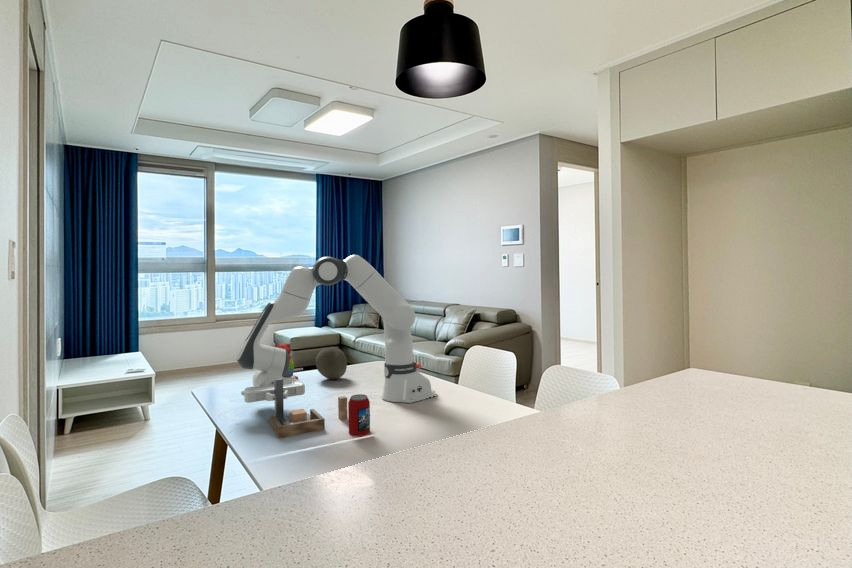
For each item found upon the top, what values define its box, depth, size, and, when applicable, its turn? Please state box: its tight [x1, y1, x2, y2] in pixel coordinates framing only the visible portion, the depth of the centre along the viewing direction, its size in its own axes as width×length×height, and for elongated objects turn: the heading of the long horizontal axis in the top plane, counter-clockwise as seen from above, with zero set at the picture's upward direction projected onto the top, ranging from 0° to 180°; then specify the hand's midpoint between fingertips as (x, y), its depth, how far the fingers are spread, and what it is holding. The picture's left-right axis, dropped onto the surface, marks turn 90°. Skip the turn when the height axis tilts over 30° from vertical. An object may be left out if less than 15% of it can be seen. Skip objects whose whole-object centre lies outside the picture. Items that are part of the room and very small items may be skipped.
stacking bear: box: [275, 342, 299, 380], centre depth 213 cm, size 11×10×18 cm
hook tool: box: [274, 378, 309, 425], centre depth 153 cm, size 8×13×14 cm, turn 30°
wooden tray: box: [266, 408, 326, 439], centre depth 154 cm, size 14×19×4 cm
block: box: [289, 408, 308, 423], centre depth 154 cm, size 4×4×4 cm
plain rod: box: [337, 395, 348, 421], centre depth 160 cm, size 2×2×8 cm
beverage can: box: [347, 393, 371, 438], centre depth 147 cm, size 7×7×12 cm
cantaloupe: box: [315, 346, 348, 380], centre depth 216 cm, size 14×14×15 cm
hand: (279, 397), depth 155 cm, fingers closed on hook tool, 2 cm apart
